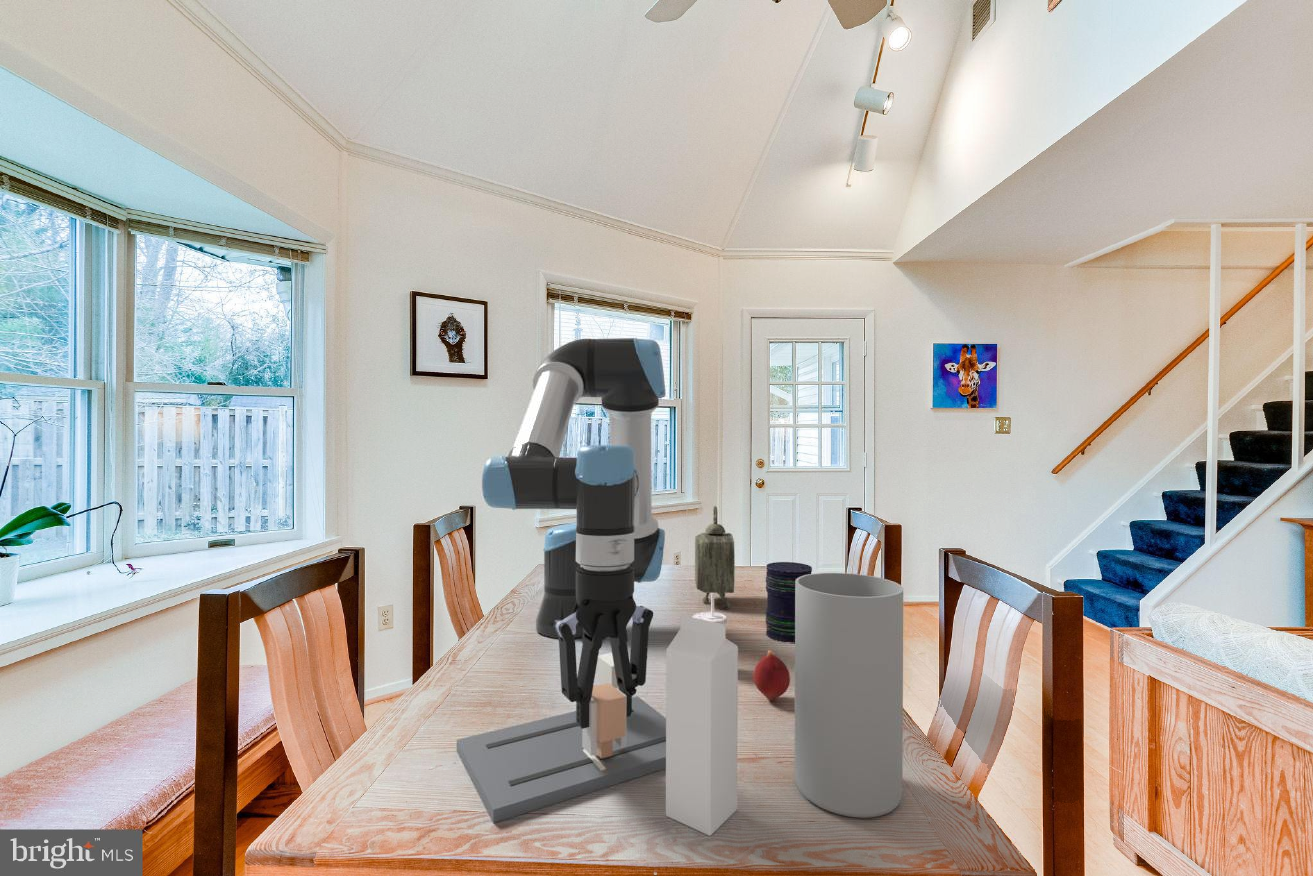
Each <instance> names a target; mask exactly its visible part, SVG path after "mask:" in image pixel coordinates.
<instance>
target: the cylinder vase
mask: <svg viewBox="0 0 1313 876" xmlns="http://www.w3.org/2000/svg"><path fill="white" fill-rule="evenodd" d="M903 686H904V587H903V586H902V585H901V584H900V583H897V582H895V581H892V580H890V579H886V578H882V577H878V576H873V575H866V574H862V573H861V574H858V573H847V572H819V573H811V574H808V575H804V576H801V577H798V578H797V579H796V581H795V643H794V768H793V769H794V771H793V773H794V774H793V775H794V782H795V784H796V786H797V788H798V790H799V791H800V793H801V794H802V795H803V797H805V798H806V799H807V800H808V801H810V802H811V803H813V805H816V806H817V807H819V808H821V809H823V810H826V811H828V812H830V813H832V814H836V815H840V816H844V817H850V818H862V819H864V818H865V819H866V818H876V817H880V816H883V815H886V814H889V813H891V812H893V810H895V809H896V808H897V807H898V806H899V804H900V803H901V801H902V799H903V746H904V744H903V737H904V736H903V733H904V731H903V725H904V724H903V723H904V722H903V720H904V719H903V717H904V715H903V713H904V711H903V710H904V705H903V704H904V699H903V698H904V697H903V696H904V687H903Z"/></svg>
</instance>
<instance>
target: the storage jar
mask: <svg viewBox="0 0 1313 876" xmlns="http://www.w3.org/2000/svg"><path fill="white" fill-rule="evenodd" d="M812 572H813V567H812V566H811V565H809V564H806V563H801V562H791V561H778V562H777V561H776V562H771V563H767V564H766V577H765V583H766V584H765V590H766V591H765V592H767V598H766V599H767V601H766V603H767V606H766V607H767V608H765V628H766V630H765V633H766V634H765V635H766V637H767V636H768V637H769V638H768V637H767V638H768V639H770V638H771V639H770V640H772V639H773V640H772V641H775V640H777V641H776V642H779V641H781V642H780V643H785V642H794V643H793V644H795V581H796V579H797V578H798V577H801V576H804V575H808V574H812Z"/></svg>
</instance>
